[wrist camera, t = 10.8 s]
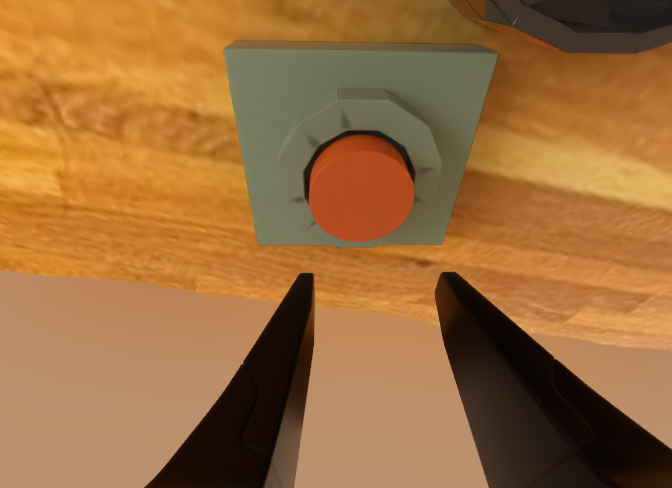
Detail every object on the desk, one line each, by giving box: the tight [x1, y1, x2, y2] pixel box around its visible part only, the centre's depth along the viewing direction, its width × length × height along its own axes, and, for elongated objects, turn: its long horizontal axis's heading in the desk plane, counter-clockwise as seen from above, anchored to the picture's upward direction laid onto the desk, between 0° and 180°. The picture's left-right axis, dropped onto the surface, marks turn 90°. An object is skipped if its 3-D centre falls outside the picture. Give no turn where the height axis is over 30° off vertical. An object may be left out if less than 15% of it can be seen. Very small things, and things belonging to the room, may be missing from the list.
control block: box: [223, 40, 499, 247], centre depth 16 cm, size 11×10×4 cm
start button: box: [309, 134, 415, 242], centre depth 14 cm, size 4×4×2 cm
